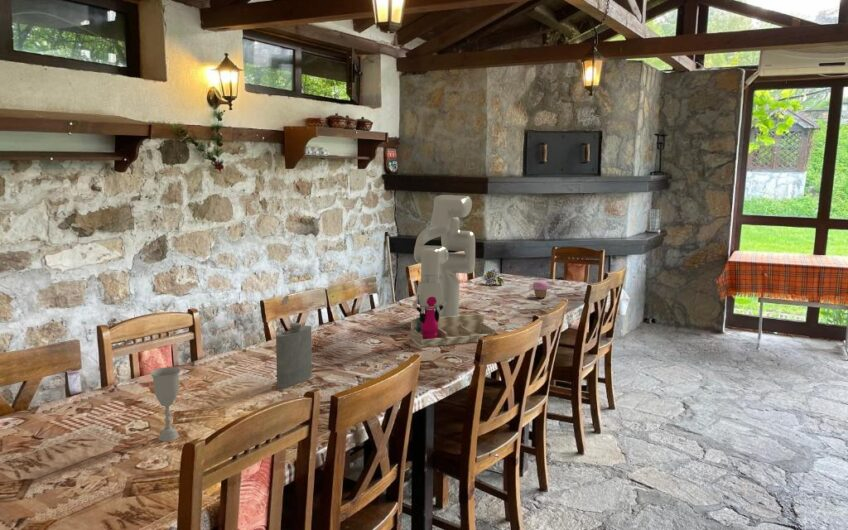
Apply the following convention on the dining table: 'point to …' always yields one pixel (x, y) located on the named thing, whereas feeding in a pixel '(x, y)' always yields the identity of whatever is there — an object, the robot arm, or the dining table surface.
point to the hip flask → (293, 356)
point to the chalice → (166, 396)
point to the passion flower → (492, 277)
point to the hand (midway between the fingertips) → (429, 321)
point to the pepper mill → (430, 320)
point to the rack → (452, 330)
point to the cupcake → (540, 288)
